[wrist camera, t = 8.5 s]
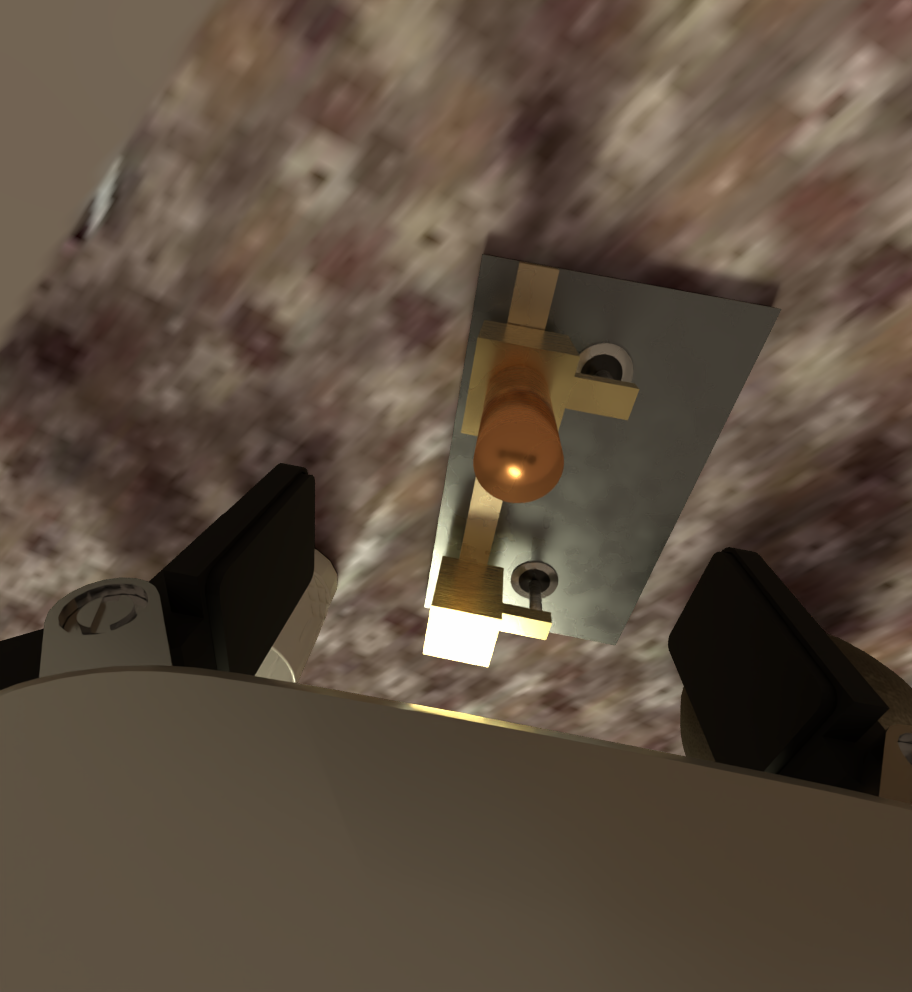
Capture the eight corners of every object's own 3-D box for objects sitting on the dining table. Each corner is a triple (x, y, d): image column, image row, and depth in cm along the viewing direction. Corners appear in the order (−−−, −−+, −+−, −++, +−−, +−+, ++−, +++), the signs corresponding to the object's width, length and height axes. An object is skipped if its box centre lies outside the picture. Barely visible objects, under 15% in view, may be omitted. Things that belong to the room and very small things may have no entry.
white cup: (306, 521, 35) (239, 612, 27) (363, 591, 38) (319, 693, 30) (236, 554, 38) (154, 646, 29) (294, 617, 41) (235, 718, 32)
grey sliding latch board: (613, 636, 37) (635, 725, 30) (426, 598, 38) (406, 678, 31) (772, 306, 24) (874, 332, 17) (483, 253, 25) (471, 258, 18)
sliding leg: (603, 416, 27) (674, 555, 15) (472, 391, 27) (439, 509, 15) (629, 341, 25) (736, 434, 13) (486, 314, 25) (459, 382, 13)
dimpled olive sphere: (869, 663, 36) (1070, 903, 23) (696, 717, 41) (779, 935, 28) (804, 544, 31) (1010, 759, 18) (619, 623, 37) (676, 831, 24)
